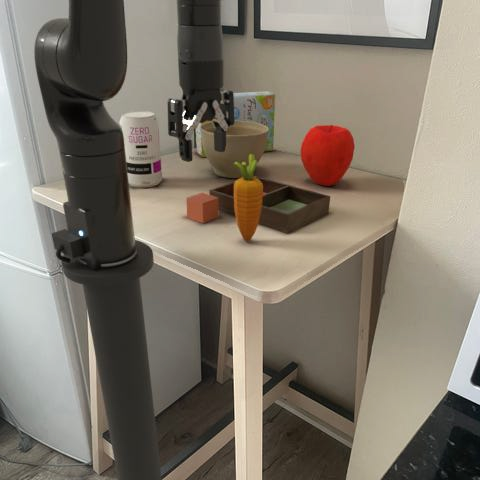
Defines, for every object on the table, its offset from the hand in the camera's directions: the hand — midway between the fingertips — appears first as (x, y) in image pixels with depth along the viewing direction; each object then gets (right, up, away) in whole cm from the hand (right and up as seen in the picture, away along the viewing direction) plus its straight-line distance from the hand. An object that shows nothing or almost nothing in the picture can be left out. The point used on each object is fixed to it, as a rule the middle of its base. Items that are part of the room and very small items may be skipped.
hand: (203, 155), depth 91 cm
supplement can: (-15, +2, +24) cm, 29 cm away
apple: (+26, +1, +25) cm, 36 cm away
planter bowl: (+5, +6, +31) cm, 33 cm away
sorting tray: (+13, -8, +10) cm, 18 cm away
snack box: (+5, +17, +48) cm, 51 cm away
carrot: (+8, -16, -3) cm, 18 cm away
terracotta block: (-1, -10, +7) cm, 12 cm away
